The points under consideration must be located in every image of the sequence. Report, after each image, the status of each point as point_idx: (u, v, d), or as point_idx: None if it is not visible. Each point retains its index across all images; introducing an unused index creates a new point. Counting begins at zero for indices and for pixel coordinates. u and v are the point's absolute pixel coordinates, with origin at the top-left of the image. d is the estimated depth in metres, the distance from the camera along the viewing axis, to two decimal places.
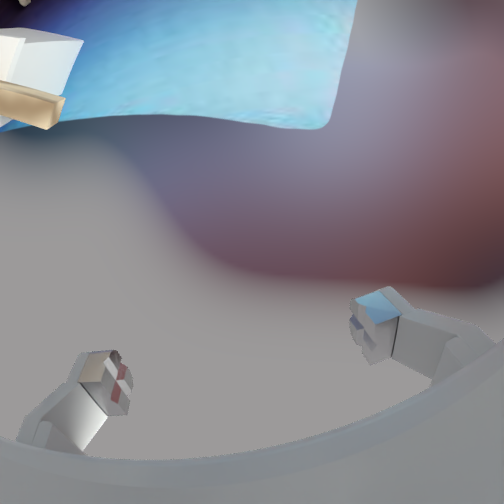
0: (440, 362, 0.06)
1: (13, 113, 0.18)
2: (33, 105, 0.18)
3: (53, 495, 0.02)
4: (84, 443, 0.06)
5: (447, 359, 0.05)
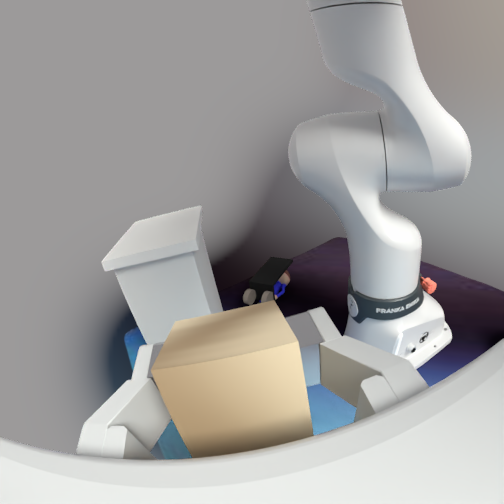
0: (358, 400, 0.05)
1: None
2: None
3: (53, 495, 0.02)
4: (149, 446, 0.06)
5: (363, 399, 0.05)
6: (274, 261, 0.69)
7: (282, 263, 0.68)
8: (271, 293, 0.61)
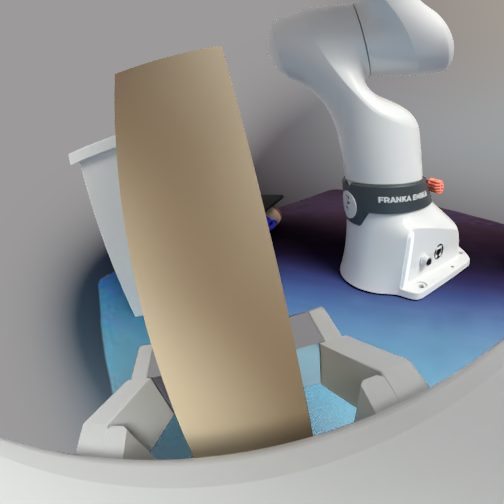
0: (358, 400, 0.05)
1: None
2: None
3: (53, 495, 0.02)
4: (148, 446, 0.06)
5: (363, 399, 0.05)
6: (263, 197, 0.63)
7: (271, 197, 0.62)
8: None
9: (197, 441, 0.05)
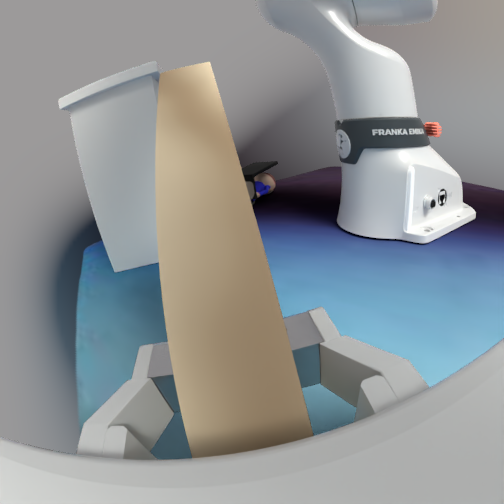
0: (358, 400, 0.05)
1: None
2: None
3: (53, 495, 0.02)
4: (149, 446, 0.06)
5: (362, 399, 0.05)
6: (256, 164, 0.60)
7: (265, 163, 0.58)
8: (251, 184, 0.51)
9: (162, 186, 0.09)
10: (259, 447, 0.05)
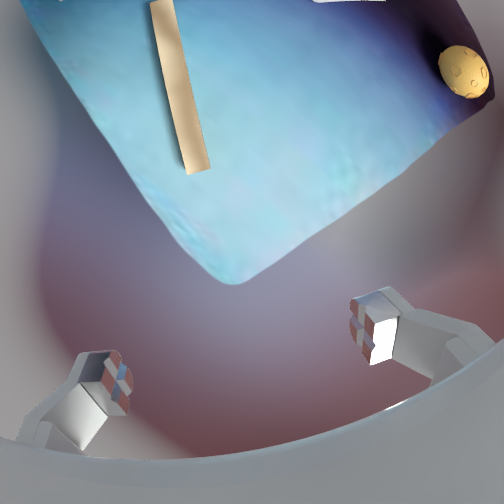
0: (440, 362, 0.06)
1: None
2: None
3: (53, 495, 0.02)
4: (84, 443, 0.06)
5: (447, 359, 0.05)
6: None
7: None
8: None
9: (161, 56, 0.27)
10: (185, 109, 0.30)
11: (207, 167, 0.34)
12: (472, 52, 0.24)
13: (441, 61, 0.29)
